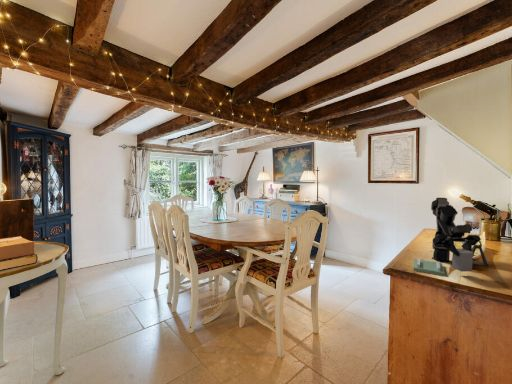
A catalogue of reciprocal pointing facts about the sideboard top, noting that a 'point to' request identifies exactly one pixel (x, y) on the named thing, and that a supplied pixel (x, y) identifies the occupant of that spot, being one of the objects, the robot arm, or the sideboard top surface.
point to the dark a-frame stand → (481, 255)
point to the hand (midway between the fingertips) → (465, 256)
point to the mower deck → (428, 267)
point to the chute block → (463, 260)
